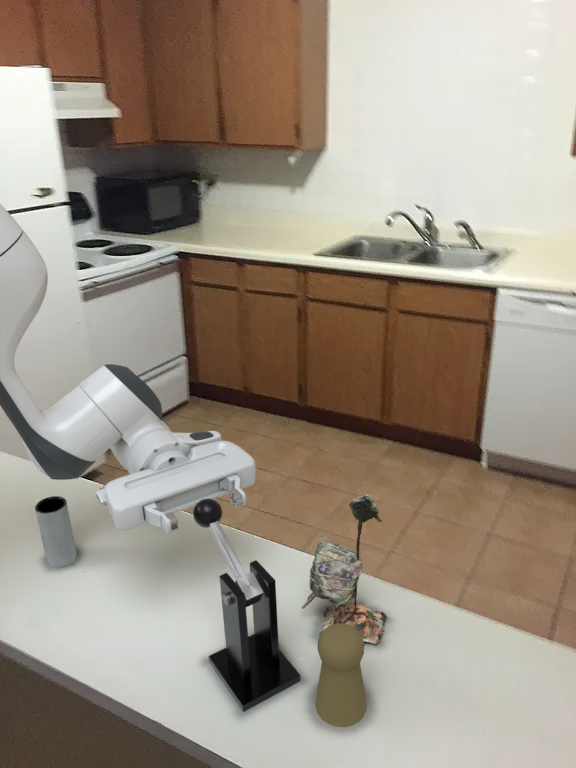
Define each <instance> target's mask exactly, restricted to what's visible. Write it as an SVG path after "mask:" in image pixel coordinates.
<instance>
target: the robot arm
mask: <svg viewBox="0 0 576 768" xmlns="http://www.w3.org/2000/svg"><path fill="white" fill-rule="evenodd" d="M48 279H49V277H48V269H47V264H46V262H45V260H44V258H43V256H42V255H41V254H40V252H39V250H38V248H37V247H36V245H35V244H34V243H33V241H32V240H31V239H30V237H29V236H28V234H27V233H26V232H25V230H24V229H23V228H22V226H20V225H19V223H18V222H17V221H16V219H15V218H14V217H13V216H12V215H11V213H9V211H8V210H7V209H6V208H5V207H4V206H3V205H2V204H1V203H0V408H1V409H2V411H3V412H4V414H5V416H6V417H7V418H8V421H10V422H11V424H12V425H13V427H14V429H15V430H16V431H17V434H18V435H19V437H20V439H21V441H22V444H23V447H24V449H25V451H26V454H27V455H28V457H29V459H30V460H31V462H32V463H33V465H34V466H35V467H36V468H37V469H38V470H39V472H40V473H42V474H43V475H45V476H46V477H48V478H49V479H50V480H54V481H55V480H58V481H66V480H67V481H69V480H76V479H79V478H81V476H82V475H84V473H86V471H88V470H89V468H90V467H92V466H93V465H94V464H95V463H96V460H98V459H99V458H100V457H101V456H103V455H104V454H105V453H106V452H107V451H109V450H110V451H111V452H112V455H113V456H114V458H115V459H116V460H117V462H118V463H119V464H120V465H121V466H122V467H123V468H124V469H125V470H127V473H128V474H127V475H124V476H120V477H118V478H115V479H113V480H111V481H108V482H106V483H104V484H103V485H102V487H100V488H99V489H98V490H96V492H95V498H96V499H97V500H98V502H99V503H100V504H101V505H103V506H106V507H107V509H108V513H109V516H110V519H111V521H112V524H113V526H114V527H115V528H116V529H117V530H119V531H130V530H133V529H135V528H137V527H140V526H143V525H146V524H148V526H152V527H157V528H161V529H163V530H164V532H165V533H166V534H169V533H170V534H171V533H172V532H174V531H177V530H179V527H180V526H179V525H178V524H179V520H178V518H177V516H176V515H175V514H176V513H179V512H182V511H186V510H188V509H190V508H194V507H195V505H196V504H197V503H198V502H199V501H201V500H203V499H213V500H216V499H218V498H220V497H224V496H226V495H229V503H230V504H231V505H232V506H233V507H234V508H238V507H240V506H244V505H246V504H247V496H246V492H244V491H243V490H244V489H246V488H248V487H251V486H253V485H254V484H255V483H256V481H257V465H256V461H255V459H254V458H253V457H252V456H251V455H250V454H249V453H248V452H247V451H246V450H245V449H243V448H242V447H240V446H239V445H237V444H235V443H234V442H232V441H228V440H223V439H222V438H223V437H222V435H221V433H220V432H219V431H217V430H208V431H197V432H174V431H171V429H170V427H169V426H168V425H167V424H166V422H164V421H163V408H162V407H163V406H162V403H161V401H160V399H159V397H158V396H157V394H156V393H155V391H153V389H152V388H151V387H150V386H149V385H148V384H147V383H146V382H145V381H144V380H143V379H142V378H140V377H139V376H138V375H136V374H135V373H134V371H132V370H131V369H130V368H129V367H128V366H124V365H120V364H115V363H108V364H107V363H106V364H104V365H102V366H101V367H99V368H98V369H97V370H95V371H94V372H93V373H92V374H90V375H89V376H87V377H86V378H85V379H84V380H83V381H81V382H80V383H78V385H77V386H76V387H74V389H72V390H71V391H69V392H68V393H67V394H66V395H64V396H63V397H62V398H61V399H59V400H58V401H57V402H56V403H55V404H53V405H51V406H50V407H48V408H47V409H40V408H39V407H38V404H37V403H36V402H35V400H34V399H33V397H32V395H31V394H30V392H29V390H28V389H27V387H26V385H25V384H24V383H23V381H22V379H21V378H20V375H19V374H18V373H17V370H16V367H15V355H16V352H17V350H18V347H19V344H20V343H21V341H22V339H23V336H24V335H25V333H26V331H27V330H28V328H29V327H30V325H31V323H32V322H33V321H34V319H35V317H36V316H37V314H38V313H39V312H40V310H41V308H42V305H43V302H44V300H45V297H46V294H47V289H48V281H49V280H48Z"/></svg>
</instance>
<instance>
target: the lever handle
mask: <svg viewBox="0 0 576 768" xmlns="http://www.w3.org/2000/svg"><path fill="white" fill-rule="evenodd" d="M192 516H193V520H194V521H195V523H196V525H198V526H199V527H201V528H205V529H209V530H210V532H211V534H212V536H213V538H214V540H215V542H216V544H217V546H218V548H219V550H220V551H221V553H222V555H223V558H224V560H225V561H226V563H227V565H228V567H229V569H230V571H231V573H232V575H233V577H234V578H235V581H234V582H235V583H236V584H237V585H238V587H239V588H240V589H241V590H242V591H243V592H244V594H245V603H246V608H248V607H250V606H252V604H255V603H257V602H259V601H260V599H261V597H262V595H263V593H264V592H263V590H262V588H261V587H260V585H259V583H258V581H257V579H256V577H255V575H254V574H253V572H251V573H250V572H249V573H246V571H245V569H244V566H243V565H242V564H241V562H240V560H239V558H238V555H237V554H236V552H235V550H234V549H233V547H232V545H231V543H230V541H229V539H228V537H227V535H226V533H225V531H224V530H223V528H222V526H221V523H220V521H221V520H222V518H223V509H222V505H221V504H220V503H219V502H218V501H217V500H216V499H203V500H201V501H199V502H198V503H197V504H196V505H195V506H193V510H192Z"/></svg>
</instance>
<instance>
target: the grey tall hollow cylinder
mask: <svg viewBox="0 0 576 768" xmlns="http://www.w3.org/2000/svg"><path fill="white" fill-rule="evenodd" d="M34 510H35V511H34V512H35V515H36V520H37V524H38V528H39V534H40V537H41V543H42V547H43V551H44V555H45V561H46V564H47V565H48V566H49V567H50V568H53V569H60V568H65V567H68V566H70V565H72V564H73V563H74V562H75V561H76V560H77V558H78V552H77V547H76V542H75V538H74V533H73V532H74V531H73V528H72V522H71V516H70V512H69V511H70V510H69V508H68V502H67V499H66V498H64V497H63V496H60V495H54V496H49V497H45V498H42V499H41V500H39V501H38V502H36V504H35V507H34Z"/></svg>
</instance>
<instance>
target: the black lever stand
mask: <svg viewBox="0 0 576 768" xmlns="http://www.w3.org/2000/svg"><path fill="white" fill-rule="evenodd" d="M251 572H253V574H254V575H255V577H256V579H257V581H258V583H259V585H260V587H261V588H262V590H263V592H264V593H263V595H262V597H261V599H260V601H259V602H257V603H255V604H252V605H251V606H252V617H253V618H252V619H253V620H252V621H253V634H251V635H249V631H248V630H249V629H248V619H247V607H246V603H245V594H244V592H243V591H242V590H241V589H240V588H239V587H238V585H237V584H236V583H235V581H234V579H233V578H232V577H231V576H230V575H229V574H228V572H224V573H223V574H220V575H219V586H220V598H221V608H222V609H221V610H222V618H223V628H224V639H225V647H224V648H222V649H220V650H218V651H216V652H214V653H212V654H210V655H208V661H209V662H208V663H209V664H210V666H211V667H212V668H213V670H214V671H215V673H216V674H217V676H218V678H219V679H220V680H221V682H222V683H223V685H224V686H225V688H226V689H227V692H229V693H230V695H231V697H232V698H233V700H234V701H235V702H236V704H237V706H238V707H239V709H240V710H241V711H242V713H244V712H247V711H248V710H251V709H252V708H254V707H256V706H257V705H259V704H261V703H263V702H266V701H267V700H268V699H270V698H272V697H274V696H276V695H277V694H280V693H282V692H283V691H285V690H287V689H288V688H291V687H292V686H295V685H296V684H298V683H300V682H301V680H302V679H301V673H299V672H298V670H297V669H296V668H295V667H294V665H293V664H292V663H291V661H290V660H289V659H288V658H287V657H286V656H285V654H284V653H283V652H282V651H281V650H280V643H279V625H278V623H279V622H278V607H277V606H278V605H277V588H276V587H277V586H276V579H275V578H274V577H273V576H272V575H271V574H270V573H269V571H267V570H266V569H265V567H264V566H263V565H262V564H261V563H260V562H259V561H258V560H257V559H256V560H253V561H251V562H249V573H251Z"/></svg>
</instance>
